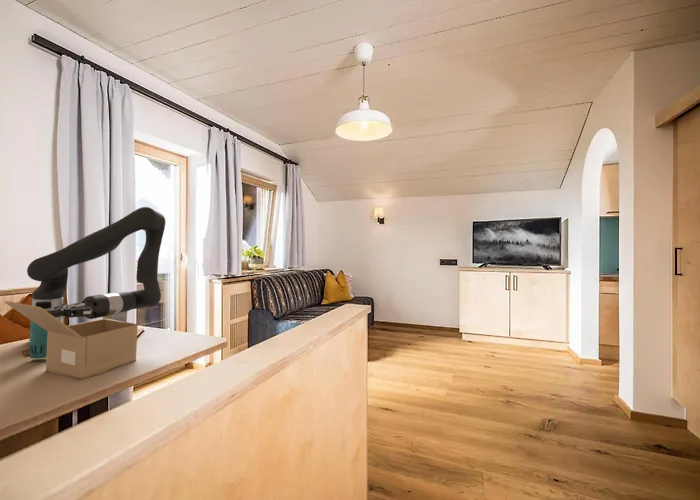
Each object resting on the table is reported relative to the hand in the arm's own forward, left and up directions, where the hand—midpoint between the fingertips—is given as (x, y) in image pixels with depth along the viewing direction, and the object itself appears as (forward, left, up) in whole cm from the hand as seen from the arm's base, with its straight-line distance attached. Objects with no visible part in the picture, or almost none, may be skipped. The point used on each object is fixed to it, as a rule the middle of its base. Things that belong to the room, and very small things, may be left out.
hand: (43, 315), depth 98 cm
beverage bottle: (-19, +11, -20) cm, 30 cm away
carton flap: (0, 0, -1) cm, 1 cm away
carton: (0, +15, -20) cm, 25 cm away
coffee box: (-29, +44, -20) cm, 56 cm away
